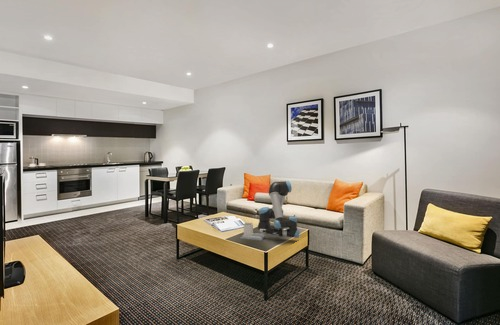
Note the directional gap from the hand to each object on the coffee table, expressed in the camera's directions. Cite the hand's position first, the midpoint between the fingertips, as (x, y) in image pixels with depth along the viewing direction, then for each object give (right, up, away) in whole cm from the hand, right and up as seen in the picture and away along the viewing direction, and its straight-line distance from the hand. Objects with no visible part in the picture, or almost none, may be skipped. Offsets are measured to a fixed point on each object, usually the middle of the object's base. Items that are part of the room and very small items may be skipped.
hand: (259, 230), depth 259 cm
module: (-12, -7, +4) cm, 14 cm away
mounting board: (-7, -8, +3) cm, 11 cm away
